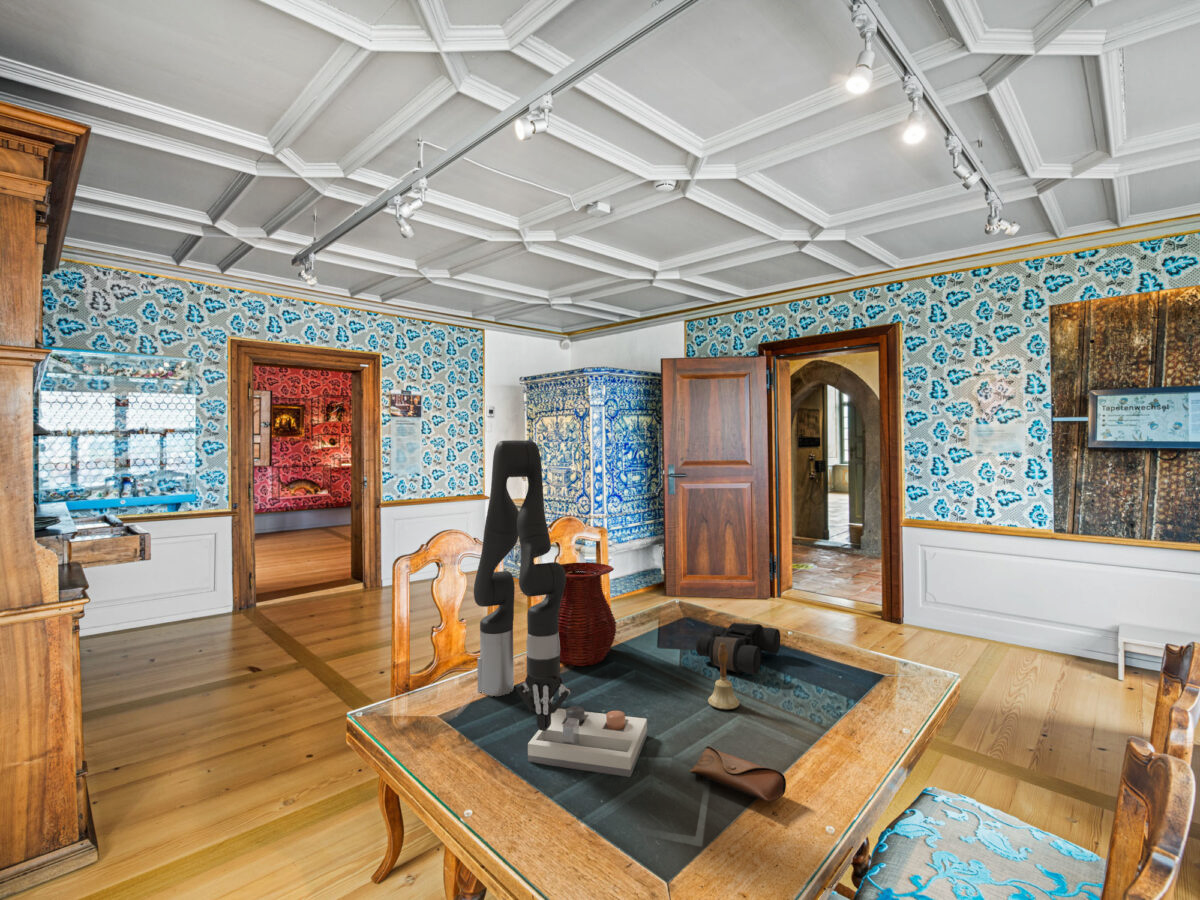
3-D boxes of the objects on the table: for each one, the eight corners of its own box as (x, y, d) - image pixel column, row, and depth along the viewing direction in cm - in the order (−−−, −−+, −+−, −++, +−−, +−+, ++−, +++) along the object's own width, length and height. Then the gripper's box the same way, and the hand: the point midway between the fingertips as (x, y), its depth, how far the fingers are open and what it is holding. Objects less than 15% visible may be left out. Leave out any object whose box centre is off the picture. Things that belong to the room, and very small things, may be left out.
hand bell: (740, 710, 148) (739, 649, 148) (707, 708, 150) (707, 647, 150) (738, 697, 156) (738, 639, 156) (708, 695, 158) (707, 637, 158)
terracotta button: (604, 729, 131) (604, 717, 131) (609, 720, 135) (609, 709, 136) (622, 731, 130) (622, 720, 130) (627, 722, 134) (627, 711, 134)
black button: (563, 724, 134) (563, 713, 134) (569, 715, 138) (569, 705, 138) (581, 726, 133) (581, 715, 133) (586, 717, 137) (586, 707, 137)
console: (527, 762, 124) (527, 743, 124) (556, 724, 142) (556, 708, 142) (630, 777, 118) (630, 757, 118) (647, 735, 135) (646, 718, 135)
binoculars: (754, 682, 167) (753, 647, 167) (689, 668, 178) (689, 636, 178) (781, 653, 191) (780, 623, 191) (723, 642, 202) (722, 614, 202)
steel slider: (563, 751, 125) (562, 725, 125) (569, 742, 129) (568, 717, 129) (573, 752, 124) (573, 727, 124) (579, 743, 128) (578, 718, 128)
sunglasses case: (685, 770, 117) (695, 737, 120) (698, 781, 121) (707, 748, 125) (770, 802, 106) (778, 765, 109) (781, 813, 110) (789, 776, 113)
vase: (575, 643, 202) (574, 559, 203) (630, 656, 189) (629, 566, 189) (530, 663, 183) (529, 570, 184) (588, 679, 170) (587, 579, 170)
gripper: (509, 655, 126) (510, 733, 126) (565, 660, 123) (566, 740, 123) (522, 644, 134) (523, 718, 133) (576, 648, 130) (577, 724, 130)
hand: (544, 729), depth 128 cm, fingers closed
